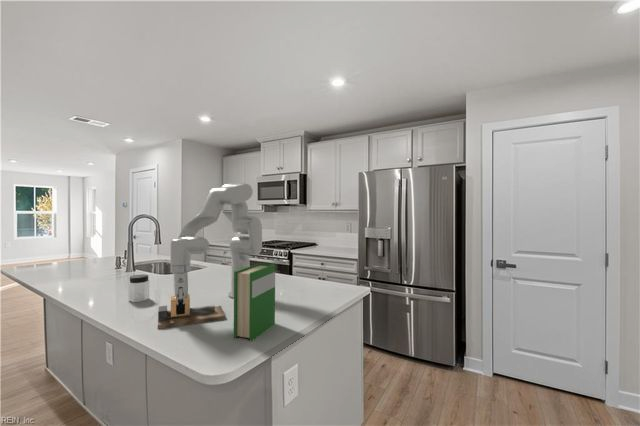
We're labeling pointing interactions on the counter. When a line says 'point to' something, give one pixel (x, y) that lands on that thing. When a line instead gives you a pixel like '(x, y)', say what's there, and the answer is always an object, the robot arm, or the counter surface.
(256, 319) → the hardback book
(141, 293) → the jar
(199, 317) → the rail board
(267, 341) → the counter surface
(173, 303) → the wooden block
